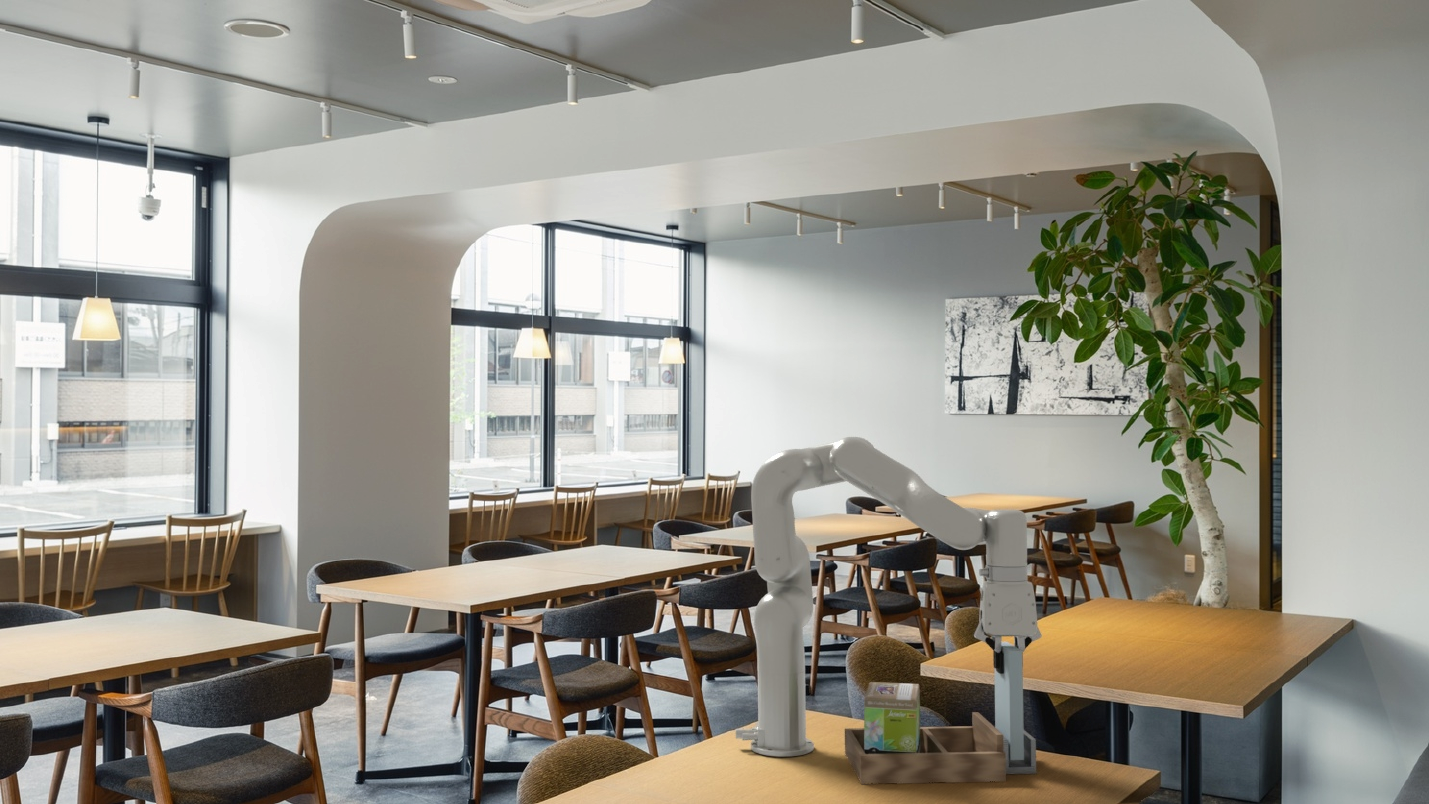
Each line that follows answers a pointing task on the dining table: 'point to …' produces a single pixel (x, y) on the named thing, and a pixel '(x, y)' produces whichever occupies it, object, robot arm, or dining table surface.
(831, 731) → the dining table surface
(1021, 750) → the rectangular block
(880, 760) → the divided tray
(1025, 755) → the stand
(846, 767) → the dining table surface
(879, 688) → the tea box
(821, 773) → the dining table surface
